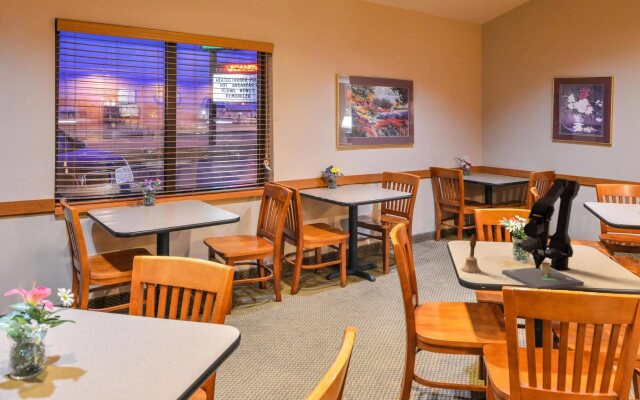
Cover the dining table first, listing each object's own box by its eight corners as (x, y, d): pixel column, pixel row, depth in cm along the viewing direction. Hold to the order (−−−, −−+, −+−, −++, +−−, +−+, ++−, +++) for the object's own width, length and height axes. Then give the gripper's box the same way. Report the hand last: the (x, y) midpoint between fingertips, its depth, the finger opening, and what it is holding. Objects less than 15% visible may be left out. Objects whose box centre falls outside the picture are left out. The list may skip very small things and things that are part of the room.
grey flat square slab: (544, 269, 224) (544, 266, 224) (583, 285, 204) (583, 281, 203) (501, 273, 218) (502, 270, 218) (537, 290, 197) (537, 286, 197)
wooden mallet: (537, 266, 223) (538, 254, 223) (546, 266, 222) (547, 255, 222) (541, 276, 208) (542, 264, 207) (550, 277, 207) (551, 265, 206)
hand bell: (477, 267, 227) (479, 232, 224) (483, 273, 219) (485, 237, 216) (458, 267, 227) (460, 232, 224) (464, 273, 218) (466, 236, 216)
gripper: (509, 228, 214) (506, 263, 218) (543, 240, 197) (539, 278, 201) (530, 226, 218) (526, 260, 222) (565, 237, 201) (560, 275, 205)
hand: (537, 268), depth 212 cm, fingers closed
